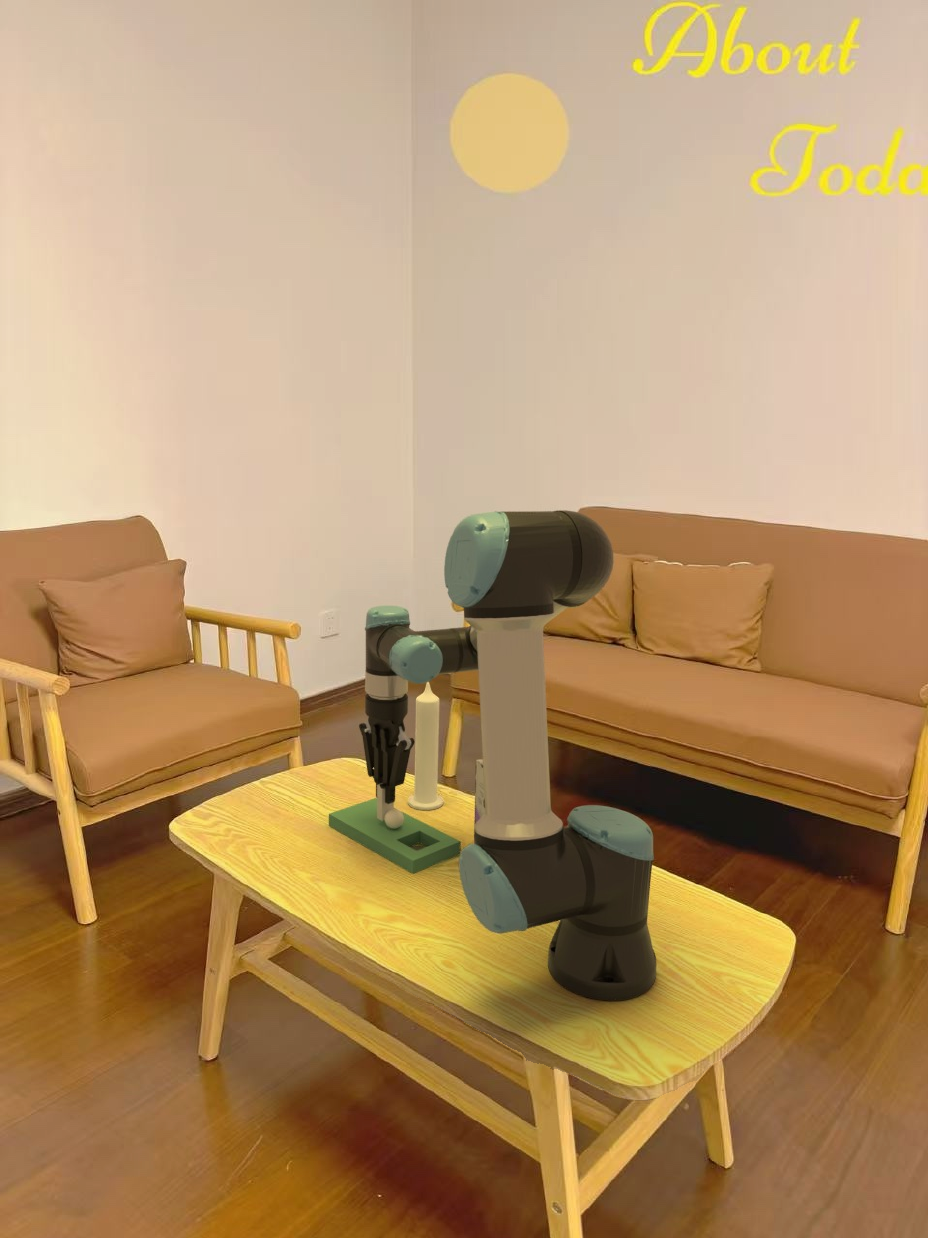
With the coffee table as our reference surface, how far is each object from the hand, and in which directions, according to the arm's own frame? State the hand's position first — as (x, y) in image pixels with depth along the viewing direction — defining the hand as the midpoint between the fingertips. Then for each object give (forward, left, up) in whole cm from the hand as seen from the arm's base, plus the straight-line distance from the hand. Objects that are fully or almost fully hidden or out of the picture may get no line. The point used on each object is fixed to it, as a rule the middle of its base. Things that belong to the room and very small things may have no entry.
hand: (385, 817), depth 169 cm
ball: (-3, 0, +1) cm, 3 cm away
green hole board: (-2, 0, -4) cm, 4 cm away
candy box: (-20, -10, -4) cm, 23 cm away
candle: (+6, -15, -4) cm, 17 cm away
